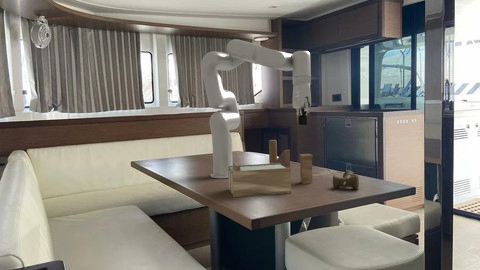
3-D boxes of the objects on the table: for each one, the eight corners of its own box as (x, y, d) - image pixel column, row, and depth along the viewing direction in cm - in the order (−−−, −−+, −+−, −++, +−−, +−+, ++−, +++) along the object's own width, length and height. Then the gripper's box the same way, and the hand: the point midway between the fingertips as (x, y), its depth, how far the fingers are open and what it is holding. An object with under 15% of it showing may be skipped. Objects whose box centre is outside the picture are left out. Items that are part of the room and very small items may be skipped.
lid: (230, 169, 148) (230, 162, 148) (280, 166, 151) (279, 159, 151) (234, 174, 137) (233, 166, 137) (287, 170, 140) (287, 163, 140)
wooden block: (285, 182, 159) (284, 141, 158) (267, 179, 167) (266, 140, 166) (291, 181, 162) (289, 140, 160) (273, 178, 170) (272, 139, 169)
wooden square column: (299, 181, 160) (298, 154, 159) (310, 181, 161) (309, 153, 160) (302, 184, 155) (302, 155, 155) (313, 183, 156) (313, 155, 155)
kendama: (361, 183, 155) (357, 193, 136) (338, 183, 158) (331, 192, 140) (361, 169, 154) (356, 177, 136) (337, 169, 158) (330, 176, 140)
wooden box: (228, 189, 150) (228, 166, 149) (281, 185, 153) (280, 162, 153) (233, 197, 136) (232, 171, 136) (291, 193, 140) (290, 168, 139)
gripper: (287, 82, 161) (288, 124, 162) (299, 79, 146) (300, 126, 148) (303, 82, 163) (304, 123, 164) (317, 79, 148) (318, 125, 149)
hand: (302, 124), depth 156 cm, fingers closed
